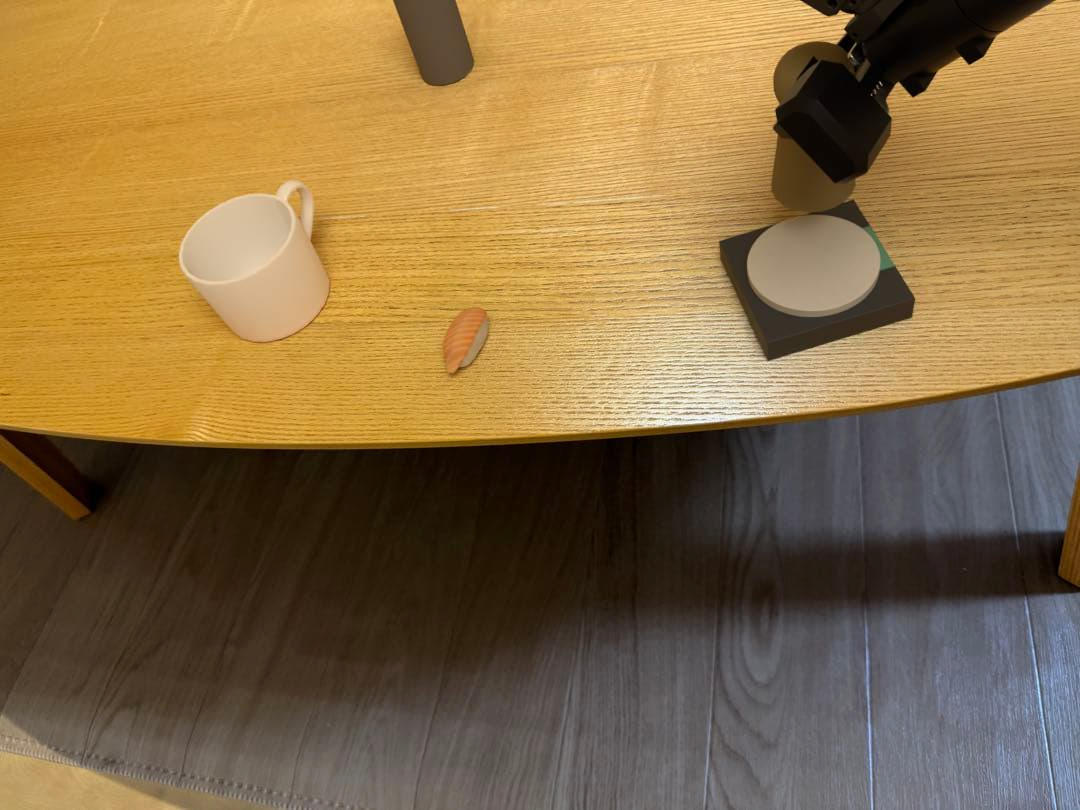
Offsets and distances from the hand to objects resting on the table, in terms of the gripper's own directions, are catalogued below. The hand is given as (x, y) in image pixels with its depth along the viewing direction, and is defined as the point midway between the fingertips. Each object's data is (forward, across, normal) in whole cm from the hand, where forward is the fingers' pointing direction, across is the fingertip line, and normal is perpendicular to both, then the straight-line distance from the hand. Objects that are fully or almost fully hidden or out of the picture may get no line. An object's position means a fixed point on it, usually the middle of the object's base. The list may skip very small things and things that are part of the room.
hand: (795, 107), depth 65 cm
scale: (+7, +4, +12) cm, 14 cm away
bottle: (+40, -9, -22) cm, 46 cm away
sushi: (+22, +20, -4) cm, 31 cm away
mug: (+36, +22, -18) cm, 46 cm away
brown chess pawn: (+4, 0, +6) cm, 7 cm away
